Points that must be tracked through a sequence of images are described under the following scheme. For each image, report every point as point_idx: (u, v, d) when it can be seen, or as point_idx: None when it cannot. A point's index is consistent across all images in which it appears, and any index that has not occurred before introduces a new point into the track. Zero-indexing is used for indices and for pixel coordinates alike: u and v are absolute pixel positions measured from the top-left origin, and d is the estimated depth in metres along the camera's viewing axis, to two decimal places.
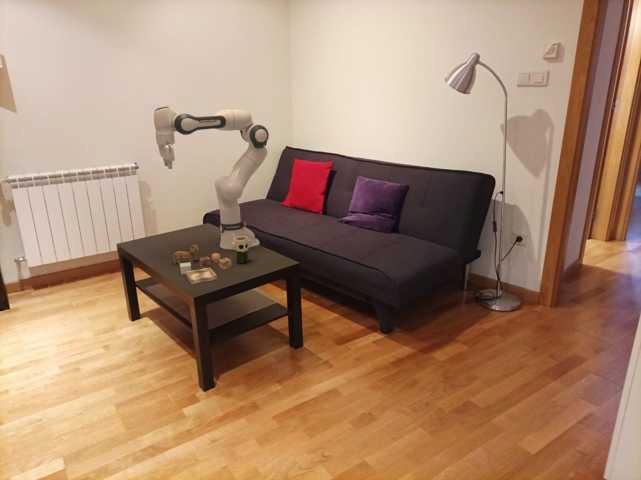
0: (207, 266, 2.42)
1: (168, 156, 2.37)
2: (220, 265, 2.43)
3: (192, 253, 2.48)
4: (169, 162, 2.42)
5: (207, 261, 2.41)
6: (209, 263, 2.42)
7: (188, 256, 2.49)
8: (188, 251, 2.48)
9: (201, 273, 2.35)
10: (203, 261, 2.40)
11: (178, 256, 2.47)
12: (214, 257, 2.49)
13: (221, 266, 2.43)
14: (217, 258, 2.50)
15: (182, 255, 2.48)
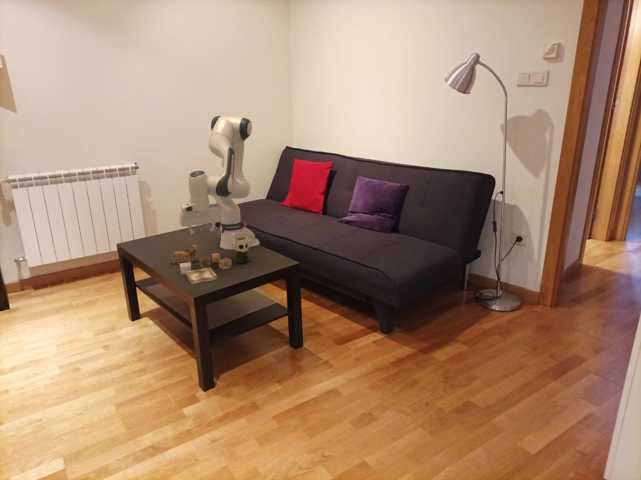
0: (207, 266, 2.42)
1: (221, 216, 2.39)
2: (220, 265, 2.43)
3: (191, 253, 2.48)
4: None
5: (207, 261, 2.41)
6: (209, 263, 2.42)
7: (187, 256, 2.49)
8: (187, 251, 2.48)
9: (201, 273, 2.35)
10: (203, 261, 2.40)
11: (177, 256, 2.47)
12: (214, 257, 2.49)
13: (221, 266, 2.43)
14: (217, 258, 2.50)
15: (181, 255, 2.48)
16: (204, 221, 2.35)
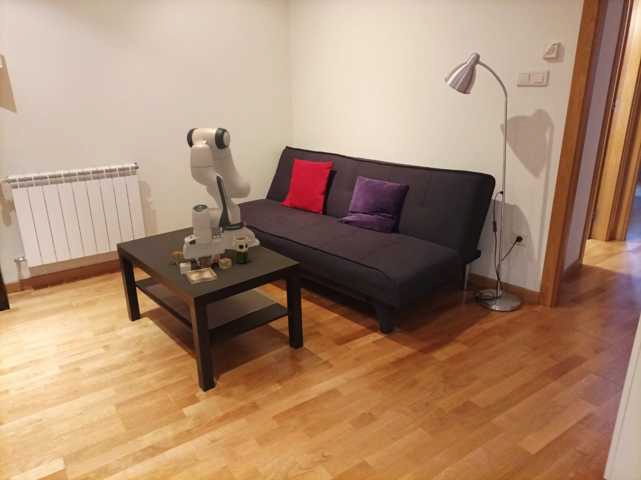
0: (207, 266, 2.42)
1: (224, 248, 2.45)
2: (220, 265, 2.43)
3: None
4: None
5: (207, 260, 2.41)
6: (209, 263, 2.42)
7: None
8: None
9: (201, 273, 2.35)
10: (203, 261, 2.40)
11: (176, 256, 2.47)
12: (214, 257, 2.49)
13: (221, 266, 2.43)
14: (217, 258, 2.50)
15: (180, 255, 2.48)
16: (207, 253, 2.41)
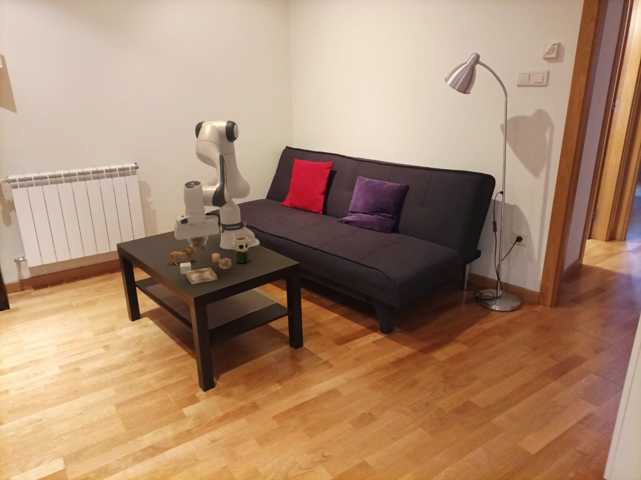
0: (200, 247, 2.25)
1: (218, 228, 2.28)
2: (220, 265, 2.43)
3: (189, 253, 2.48)
4: None
5: (200, 241, 2.24)
6: (202, 244, 2.25)
7: (185, 256, 2.48)
8: (184, 251, 2.48)
9: (201, 273, 2.35)
10: (196, 242, 2.23)
11: (175, 256, 2.47)
12: (214, 257, 2.49)
13: (221, 266, 2.43)
14: (217, 258, 2.50)
15: (179, 255, 2.47)
16: (200, 234, 2.24)
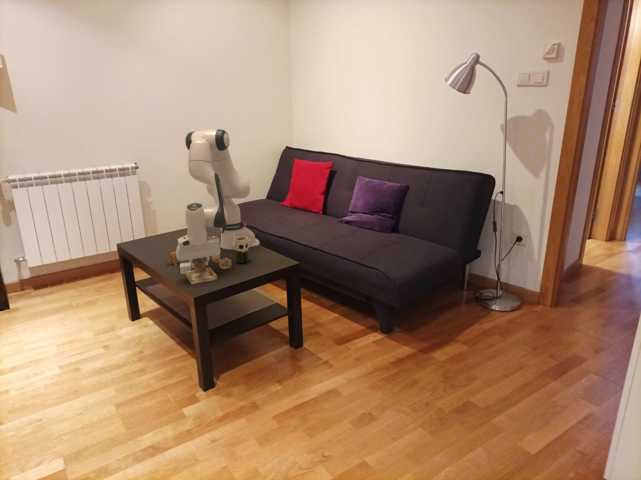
0: (202, 268, 2.28)
1: None
2: (220, 265, 2.43)
3: None
4: None
5: (202, 262, 2.27)
6: (204, 265, 2.28)
7: None
8: None
9: (201, 273, 2.35)
10: (197, 263, 2.27)
11: (174, 257, 2.46)
12: (214, 257, 2.49)
13: (221, 266, 2.43)
14: (217, 258, 2.50)
15: None
16: (202, 255, 2.27)
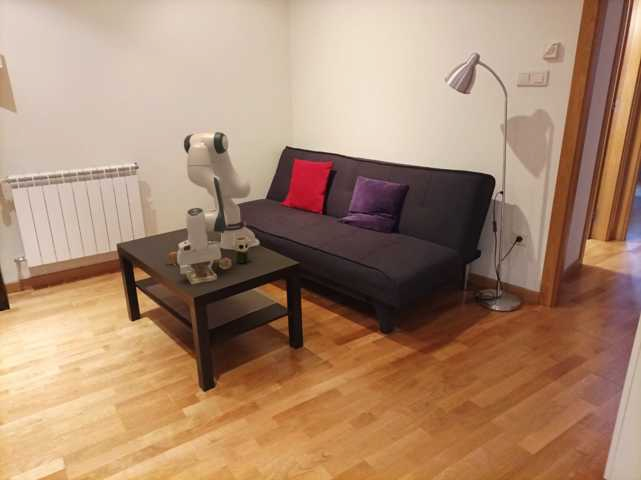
0: (203, 275, 2.29)
1: (220, 254, 2.32)
2: (220, 265, 2.43)
3: None
4: None
5: (203, 269, 2.29)
6: (205, 271, 2.30)
7: None
8: None
9: None
10: (198, 269, 2.28)
11: (173, 257, 2.46)
12: None
13: (221, 266, 2.43)
14: None
15: None
16: (202, 259, 2.28)
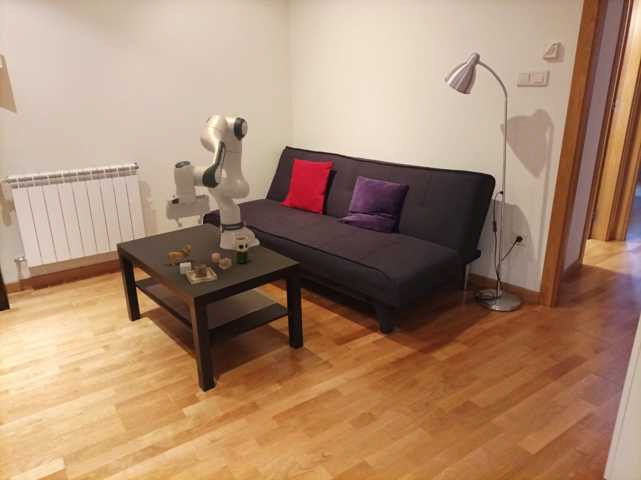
0: (203, 275, 2.29)
1: (209, 208, 2.31)
2: (220, 265, 2.43)
3: (186, 254, 2.48)
4: None
5: (203, 269, 2.29)
6: (205, 271, 2.30)
7: (181, 257, 2.48)
8: (181, 252, 2.48)
9: None
10: (198, 269, 2.28)
11: (171, 257, 2.46)
12: (214, 257, 2.49)
13: (221, 266, 2.43)
14: (217, 258, 2.50)
15: (175, 256, 2.47)
16: (191, 213, 2.27)
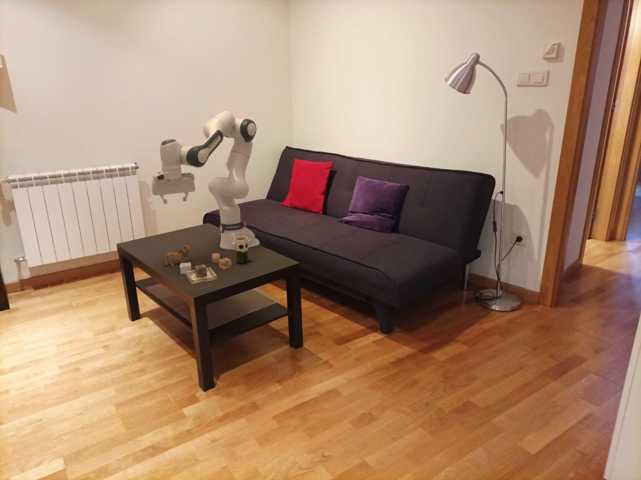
0: (203, 275, 2.29)
1: (194, 186, 2.38)
2: (220, 265, 2.43)
3: (184, 254, 2.47)
4: None
5: (203, 269, 2.29)
6: (205, 271, 2.30)
7: (180, 257, 2.48)
8: (180, 252, 2.47)
9: None
10: (198, 269, 2.28)
11: (170, 257, 2.46)
12: (214, 257, 2.49)
13: (221, 266, 2.43)
14: (217, 258, 2.50)
15: (174, 256, 2.47)
16: (176, 190, 2.34)
